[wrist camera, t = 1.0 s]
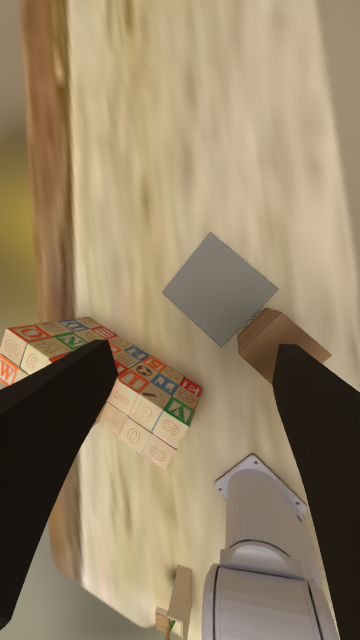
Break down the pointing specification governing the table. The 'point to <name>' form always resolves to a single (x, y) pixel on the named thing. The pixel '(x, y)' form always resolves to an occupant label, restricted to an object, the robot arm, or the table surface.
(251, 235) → the table surface
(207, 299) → the slate mat
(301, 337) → the walnut block
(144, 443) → the stack of blocks
